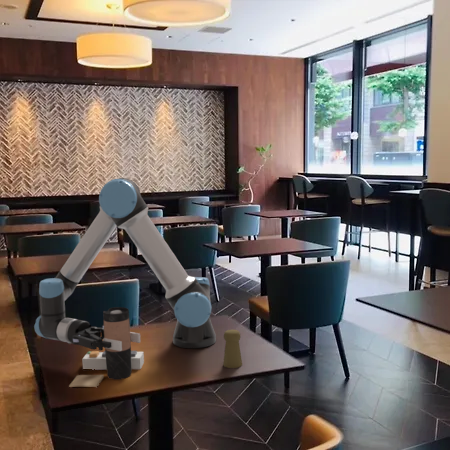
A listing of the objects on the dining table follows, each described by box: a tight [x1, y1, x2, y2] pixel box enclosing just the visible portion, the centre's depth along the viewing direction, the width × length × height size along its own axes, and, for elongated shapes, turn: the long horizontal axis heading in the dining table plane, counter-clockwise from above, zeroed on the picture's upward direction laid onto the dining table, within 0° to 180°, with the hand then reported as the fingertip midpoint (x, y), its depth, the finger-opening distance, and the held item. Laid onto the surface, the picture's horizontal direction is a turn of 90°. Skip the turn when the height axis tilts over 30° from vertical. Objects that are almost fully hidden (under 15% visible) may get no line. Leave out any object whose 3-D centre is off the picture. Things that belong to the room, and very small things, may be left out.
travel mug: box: [102, 306, 132, 380], centre depth 170 cm, size 8×8×20 cm
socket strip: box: [81, 350, 145, 371], centre depth 179 cm, size 18×6×4 cm, turn 88°
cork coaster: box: [68, 374, 105, 388], centre depth 166 cm, size 8×8×1 cm
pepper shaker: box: [222, 329, 243, 369], centre depth 177 cm, size 6×6×11 cm
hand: (130, 342), depth 167 cm, fingers closed on travel mug, 7 cm apart
